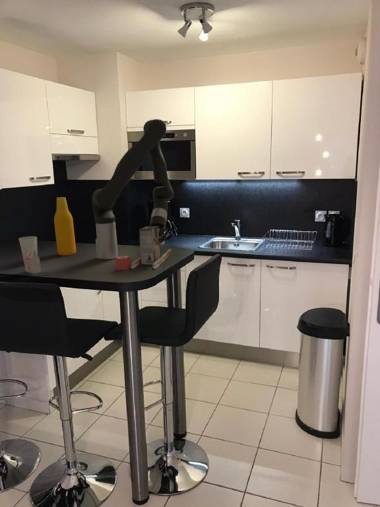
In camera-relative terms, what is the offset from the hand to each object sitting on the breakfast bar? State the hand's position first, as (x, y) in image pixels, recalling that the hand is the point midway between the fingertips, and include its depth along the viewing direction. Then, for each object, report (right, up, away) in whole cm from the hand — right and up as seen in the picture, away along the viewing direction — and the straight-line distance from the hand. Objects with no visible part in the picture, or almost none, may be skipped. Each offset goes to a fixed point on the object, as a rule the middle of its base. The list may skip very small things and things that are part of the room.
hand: (153, 249), depth 192 cm
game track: (0, -5, 0) cm, 5 cm away
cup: (-59, -6, +5) cm, 60 cm away
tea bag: (-52, -10, -12) cm, 54 cm away
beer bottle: (-47, -2, +22) cm, 52 cm away
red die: (-12, -8, -13) cm, 20 cm away
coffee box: (-1, -6, -4) cm, 7 cm away
